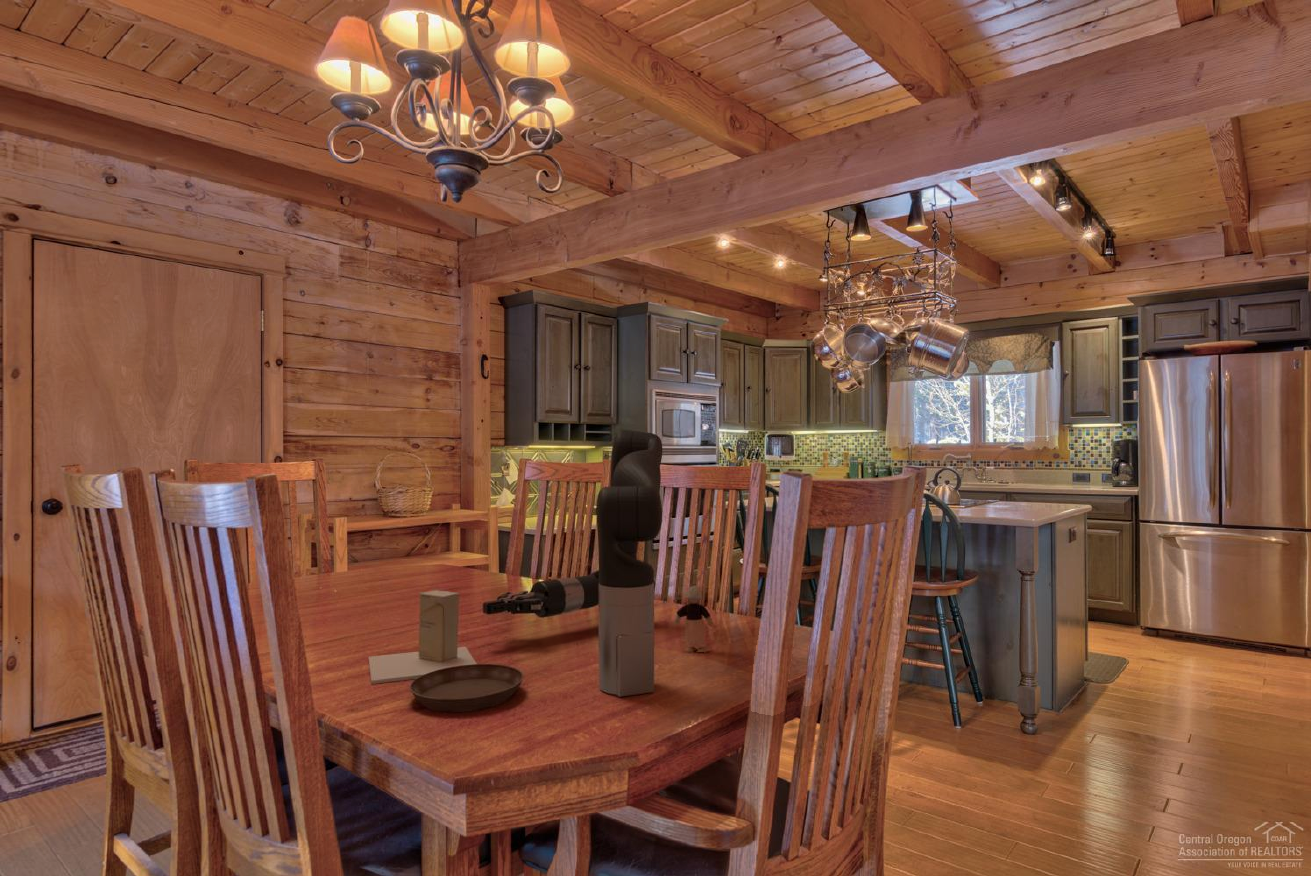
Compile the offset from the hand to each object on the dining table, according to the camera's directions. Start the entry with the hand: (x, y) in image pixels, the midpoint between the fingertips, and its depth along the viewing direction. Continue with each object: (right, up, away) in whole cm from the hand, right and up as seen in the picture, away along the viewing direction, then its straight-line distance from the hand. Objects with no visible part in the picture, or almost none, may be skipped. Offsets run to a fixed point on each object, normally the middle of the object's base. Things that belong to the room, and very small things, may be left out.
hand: (484, 608), depth 147 cm
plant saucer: (+3, -8, -27) cm, 29 cm away
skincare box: (-7, -8, -7) cm, 13 cm away
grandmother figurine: (+41, -8, -1) cm, 42 cm away
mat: (-9, -8, -10) cm, 16 cm away
